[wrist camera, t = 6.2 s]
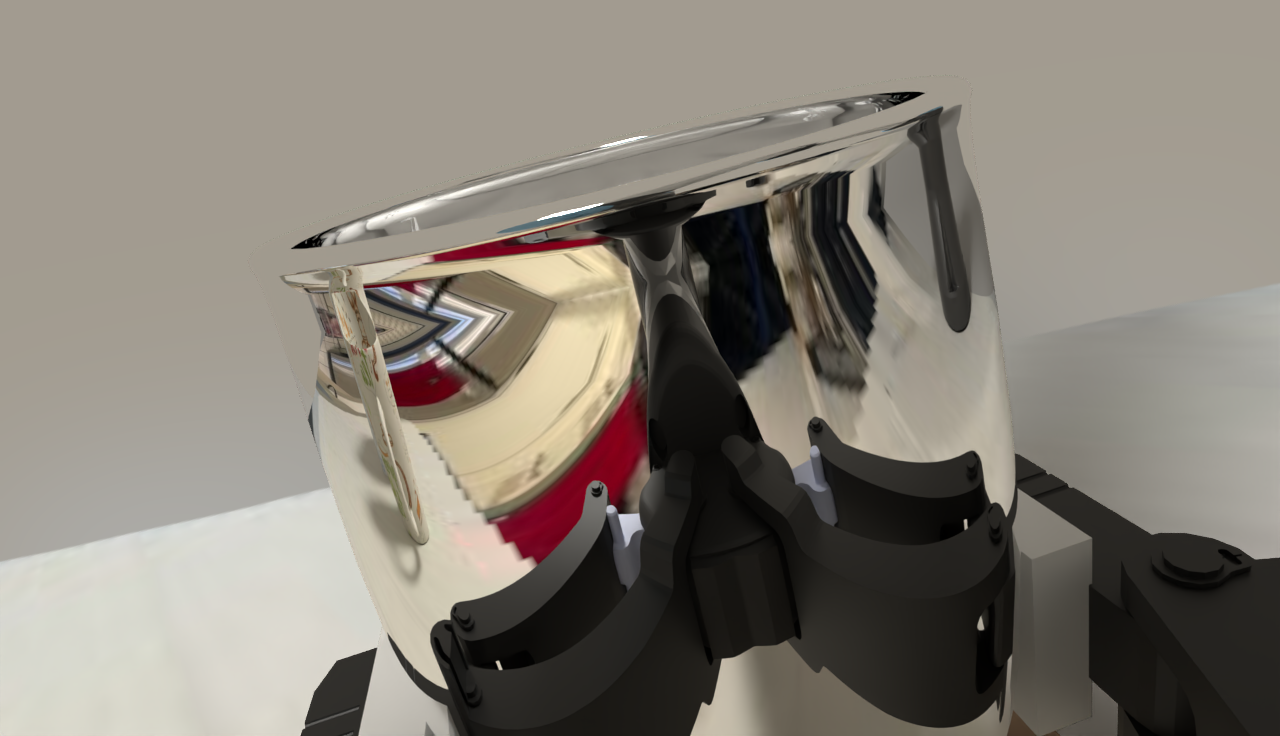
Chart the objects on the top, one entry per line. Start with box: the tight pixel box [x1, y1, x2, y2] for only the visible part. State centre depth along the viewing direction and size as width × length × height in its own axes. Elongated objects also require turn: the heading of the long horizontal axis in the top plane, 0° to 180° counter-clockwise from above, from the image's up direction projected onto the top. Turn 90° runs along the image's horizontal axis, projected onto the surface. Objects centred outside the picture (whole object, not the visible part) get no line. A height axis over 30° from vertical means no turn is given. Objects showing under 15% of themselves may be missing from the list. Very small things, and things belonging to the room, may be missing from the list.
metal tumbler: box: [248, 75, 1021, 736], centre depth 9 cm, size 7×7×15 cm
